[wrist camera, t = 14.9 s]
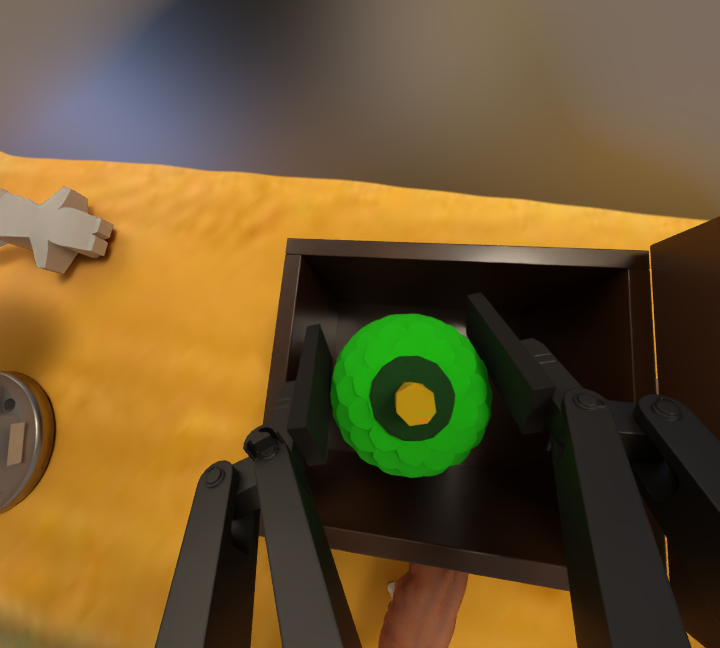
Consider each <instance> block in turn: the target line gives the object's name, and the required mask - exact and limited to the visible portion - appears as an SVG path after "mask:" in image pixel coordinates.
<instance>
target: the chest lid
mask: <svg viewBox="0 0 720 648" xmlns="http://www.w3.org/2000/svg"><path fill="white" fill-rule="evenodd" d="M650 252H651V269H652V286H653V304H654V321H655V338H656V355H657V372H658V390H659V395H664V396H667V397H670V398H673V399H675V400H677V401H679V402H681V403H683V404H684V405H686V406H687V407H688V408H689V409H691V410H692V411H693V412H694V413H695V415H696V416H697V417H698V418H699V419H700V420H701V421H702V422H703V423H704V424H705V425H706V426H707V427H708V428H709V429H710V430H711V432H712V433H713V434H714V435H715V436H716V437H717V438H718V439H719V440H720V217H717V218H715V219H713V220H710V221H708V222H705V223H703V224H701V225H698V226H696V227H694V228H691V229H689V230H686V231H684V232H682V233H679V234H677V235H674V236H672V237H670V238H667V239H665V240H662V241H660V242H658V243H655V244H653V245H651V246H650ZM667 545H668V562H669V579H670V585H671V588H672V591H673V594H674V597H675V600H676V603H677V606H678V609H679V612H680V615H681V618H682V621H683V624H684V627H685V630H686V632H687V633H689V634H690V635H691V636H692V637H693V638H694V639H696V640H697V641H698V642H699V643H700V644H702V645H703V646H704V647H705V648H720V625H719V624H718V622H717V620H716V619H715V617H714V615H713V614H712V612H711V610H710V609H709V607H708V605H707V604H706V602H705V600H704V599H703V597H702V595H701V594H700V592H699V590H698V589H697V587H696V585H695V584H694V582H693V580H692V579H691V577H690V575H689V574H688V572H687V570H686V569H685V567H684V565H683V564H682V562H681V561H680V559H679V557H678V556H677V554H676V552H675V551H674V549H673V547H672V546H671V544H670V542H669V541H668V539H667Z"/></svg>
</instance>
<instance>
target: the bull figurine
mask: <svg viewBox="0 0 720 648" xmlns="http://www.w3.org/2000/svg"><path fill="white" fill-rule="evenodd" d="M467 579H468V573H464V572H459V571H453V570H447V569H442V568H436V567H431V566H425V565H419V564H414V563H410V565H409V571H408V572H407V573H406V574H404V575H403V576H402V577H401V578H400V580H399V581H398V582H397V584H396V582H395V581H394V582H393V583H391V582H390V583H389V584H388V585H387V590H388V592H389V593H390V594H391V601H390V603H389V605H388V610H387V612H386V615H385V617H384V621H383V626H382V629H381V633H380V637H379V646H378V648H448V646H449V643H450V641H451V638H452V635H453V632H454V628H455V623H456V615H457V612H458V610H459V607H460V605H461V602H462V599H463V596H464V593H465V589H466V585H467Z"/></svg>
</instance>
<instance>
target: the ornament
mask: <svg viewBox="0 0 720 648" xmlns="http://www.w3.org/2000/svg"><path fill="white" fill-rule="evenodd" d="M492 394H493V392H492V390H491V387H490V384H489V381H488V373H487V368H486V366H485V364H484V361H482V360H481V359H480V356H479V355H478V353H477V351H476V350H475V348H474V347H473V345H472V344H471V342H470V341H469V339H467V338H465V337H464V336H462V335H461V334H460V333H459V332H458V331H457V330H456V329H455V328H454V327H453V326H452V325H448V324H445V323H444V322H442V321H440V320H437V319H435V318H433V317H427V316H424V315H420V314H401V315H400V314H395V315H389V316H386V317H384V318H382V319H380V320H376V321H373V322H371V323H370V324H368V325H366V326H365V327H363V328H361V329H360V330H359V331H358V332H357V333H356V334H355V335H354V336H352V338H351V339H350V340H349V342H348V343H347V344H346V345H345V346H344V349H343V350H342V351H341V352H340V354H339V356H338V358H337V361H336V365H335V368H334V373H333V375H332V378H331V392H330V396H331V404H332V407H333V417H334V419H335V421H336V424H337V426H338V427H339V428H340V431H341V434H342V436H343V439H344V440H345V441H346V442H347V443H348V444H349V445H350V446H351V447H352V448H353V449H354V450H355V451H356V452H357V453H358V455H359V456H360V458H361V459H363V460H364V461H366V462H367V463H368V464H371V465H375V466H377V467H379V468H380V469H381V470H382V471H383V472H385V473H388V474H390V475H397V476H404V477H409V478H416V477H423V476H426V477H427V476H435V475H438V474H440V473H443V472H444V471H445V470H446V469H447V468H448V467H450V466H454V465H458V464H460V463H461V462H463V461H464V460H465V459H466V458H467V456H468V455H469V453H470V450H471V449H473V448H474V447H476V446H478V444H479V443H480V442H481V440H482V439H483V436H484V433H485V428H486V427H487V425H488V422H489V419H490V417H491V403H492Z"/></svg>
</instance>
